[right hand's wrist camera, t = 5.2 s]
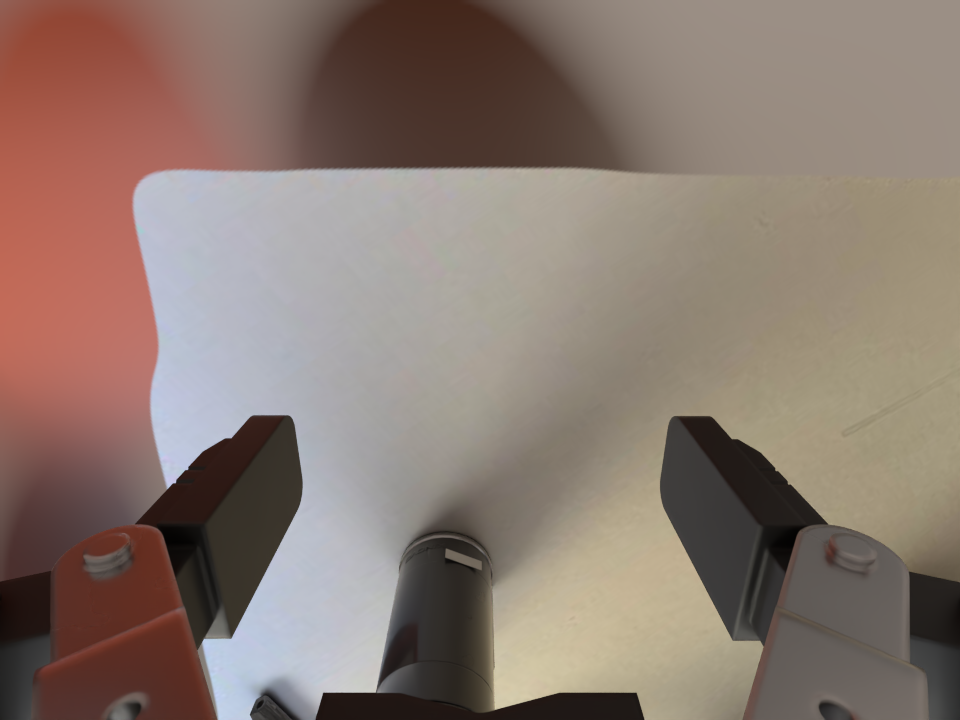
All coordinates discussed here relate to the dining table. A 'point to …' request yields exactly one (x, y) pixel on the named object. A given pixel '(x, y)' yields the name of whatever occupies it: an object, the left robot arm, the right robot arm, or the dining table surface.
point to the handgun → (267, 710)
